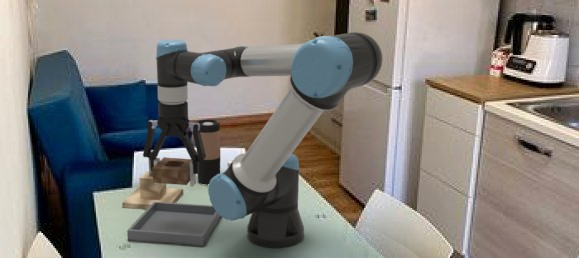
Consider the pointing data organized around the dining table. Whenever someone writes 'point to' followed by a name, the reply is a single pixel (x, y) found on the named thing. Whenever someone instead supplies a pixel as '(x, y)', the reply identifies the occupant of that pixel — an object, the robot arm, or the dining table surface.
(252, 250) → the dining table surface
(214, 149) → the travel mug
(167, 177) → the collar
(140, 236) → the tray
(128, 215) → the dining table surface
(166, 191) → the stake stand
